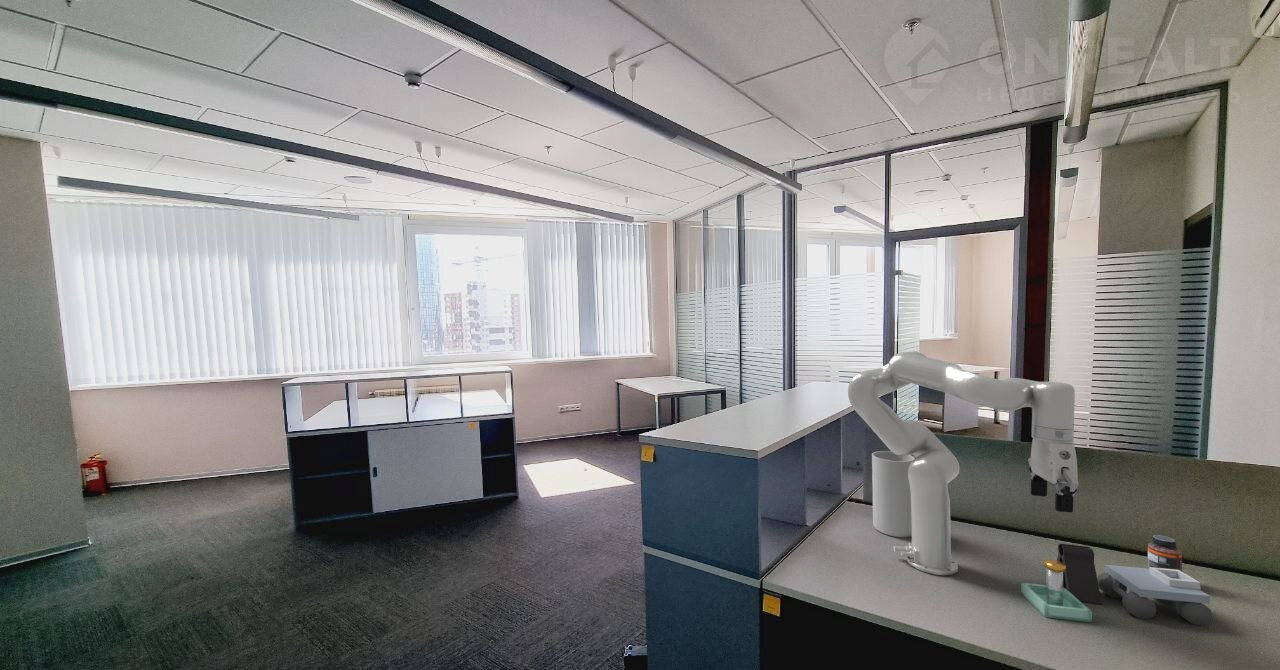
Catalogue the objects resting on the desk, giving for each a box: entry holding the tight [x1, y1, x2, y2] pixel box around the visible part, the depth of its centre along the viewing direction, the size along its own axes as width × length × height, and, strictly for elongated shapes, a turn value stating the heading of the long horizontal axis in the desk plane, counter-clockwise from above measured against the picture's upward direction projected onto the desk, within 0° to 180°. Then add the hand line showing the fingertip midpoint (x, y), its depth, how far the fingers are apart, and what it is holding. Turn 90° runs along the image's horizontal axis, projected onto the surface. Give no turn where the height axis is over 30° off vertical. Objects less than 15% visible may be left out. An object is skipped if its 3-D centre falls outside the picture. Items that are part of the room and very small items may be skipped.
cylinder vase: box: [871, 450, 915, 538], centre depth 152 cm, size 12×12×25 cm
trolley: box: [1097, 564, 1213, 626], centre depth 108 cm, size 11×15×9 cm
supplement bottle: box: [1147, 534, 1183, 572], centre depth 119 cm, size 6×6×11 cm
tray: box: [1020, 582, 1093, 623], centre depth 109 cm, size 9×10×3 cm
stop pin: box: [1043, 558, 1066, 606], centre depth 110 cm, size 4×4×10 cm
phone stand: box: [1056, 543, 1103, 605], centre depth 115 cm, size 9×6×12 cm, turn 159°
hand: (1050, 503), depth 110 cm, fingers open, 9 cm apart
